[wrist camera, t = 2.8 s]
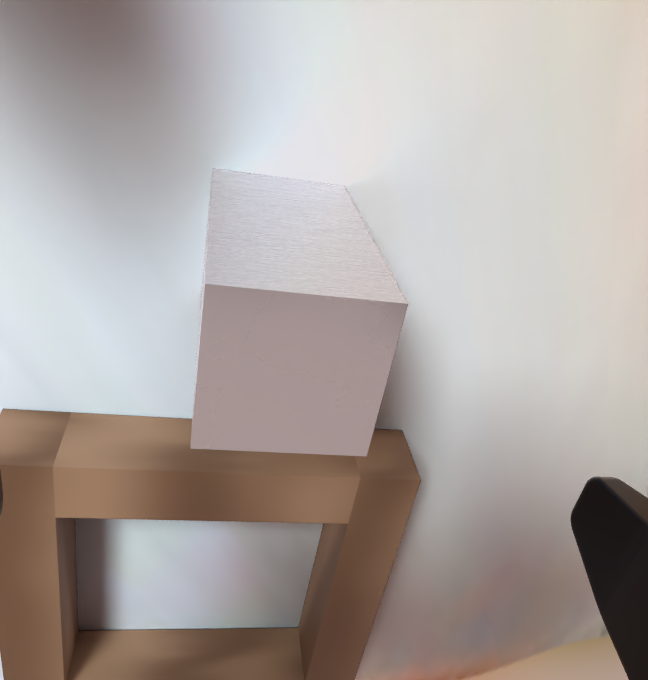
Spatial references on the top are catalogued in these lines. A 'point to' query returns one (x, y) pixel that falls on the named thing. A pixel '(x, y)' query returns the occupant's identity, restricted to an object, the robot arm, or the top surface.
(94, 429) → the square wooden frame
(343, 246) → the steel square peg
